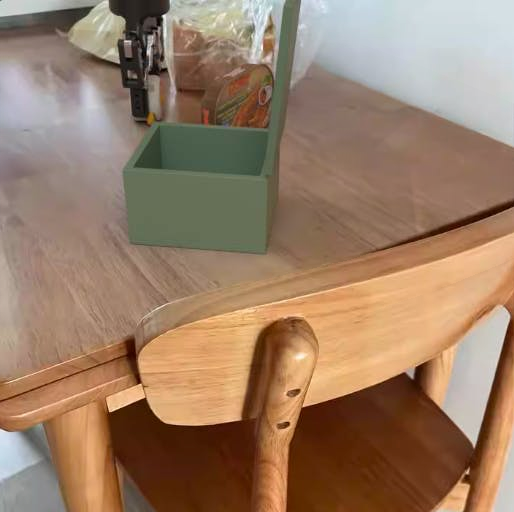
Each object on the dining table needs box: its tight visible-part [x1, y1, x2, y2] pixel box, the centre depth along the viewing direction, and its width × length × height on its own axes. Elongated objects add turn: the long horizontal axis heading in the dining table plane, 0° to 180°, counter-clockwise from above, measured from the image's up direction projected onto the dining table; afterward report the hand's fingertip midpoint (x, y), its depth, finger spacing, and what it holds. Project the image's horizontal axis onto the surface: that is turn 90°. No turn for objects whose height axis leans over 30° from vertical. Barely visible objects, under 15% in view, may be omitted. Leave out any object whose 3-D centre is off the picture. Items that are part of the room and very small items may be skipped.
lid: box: [264, 0, 302, 176], centre depth 67 cm, size 14×13×1 cm
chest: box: [122, 121, 281, 255], centre depth 75 cm, size 14×13×8 cm
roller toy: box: [128, 74, 165, 126], centre depth 98 cm, size 4×6×6 cm
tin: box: [200, 63, 275, 128], centre depth 93 cm, size 15×3×8 cm, turn 151°
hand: (147, 107), depth 98 cm, fingers closed on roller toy, 6 cm apart
